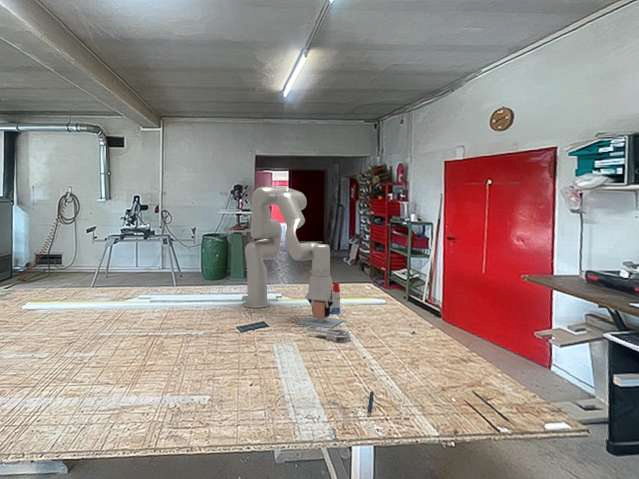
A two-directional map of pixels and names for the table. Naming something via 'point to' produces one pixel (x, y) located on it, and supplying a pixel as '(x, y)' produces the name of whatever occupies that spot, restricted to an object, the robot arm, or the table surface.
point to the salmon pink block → (319, 309)
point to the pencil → (370, 403)
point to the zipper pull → (332, 333)
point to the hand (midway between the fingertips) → (321, 315)
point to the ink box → (336, 306)
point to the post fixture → (321, 322)
